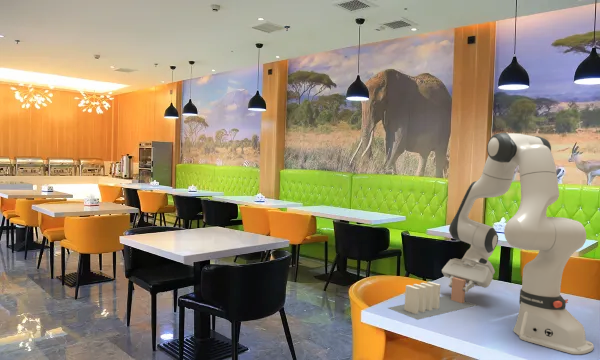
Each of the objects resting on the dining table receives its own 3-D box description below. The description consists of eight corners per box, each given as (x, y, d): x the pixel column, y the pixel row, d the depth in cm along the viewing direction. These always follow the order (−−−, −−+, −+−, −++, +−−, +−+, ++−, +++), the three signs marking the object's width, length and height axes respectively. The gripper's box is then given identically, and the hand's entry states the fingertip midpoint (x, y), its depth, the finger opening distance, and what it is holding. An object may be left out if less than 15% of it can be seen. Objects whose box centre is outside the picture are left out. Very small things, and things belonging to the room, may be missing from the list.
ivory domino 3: (421, 306, 170) (422, 282, 169) (432, 309, 166) (433, 285, 165) (418, 306, 169) (420, 283, 168) (429, 310, 165) (431, 286, 164)
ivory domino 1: (407, 309, 165) (408, 284, 165) (418, 313, 161) (419, 288, 161) (404, 309, 164) (405, 285, 164) (415, 313, 160) (416, 288, 160)
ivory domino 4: (428, 304, 172) (429, 281, 172) (439, 308, 168) (440, 284, 168) (425, 305, 171) (426, 281, 171) (436, 309, 167) (437, 285, 167)
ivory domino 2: (414, 307, 167) (415, 283, 167) (425, 311, 163) (426, 287, 163) (411, 308, 166) (413, 284, 166) (422, 312, 162) (424, 287, 162)
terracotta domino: (453, 299, 181) (454, 277, 181) (464, 302, 177) (465, 280, 177) (451, 299, 180) (452, 277, 180) (461, 303, 176) (463, 280, 176)
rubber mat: (477, 306, 175) (477, 305, 175) (417, 321, 154) (417, 319, 154) (447, 297, 186) (447, 295, 186) (387, 309, 165) (387, 307, 165)
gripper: (448, 252, 191) (432, 277, 185) (493, 262, 174) (477, 290, 169) (454, 262, 194) (438, 287, 188) (499, 272, 177) (483, 300, 172)
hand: (457, 288), depth 178 cm, fingers closed on terracotta domino, 5 cm apart
